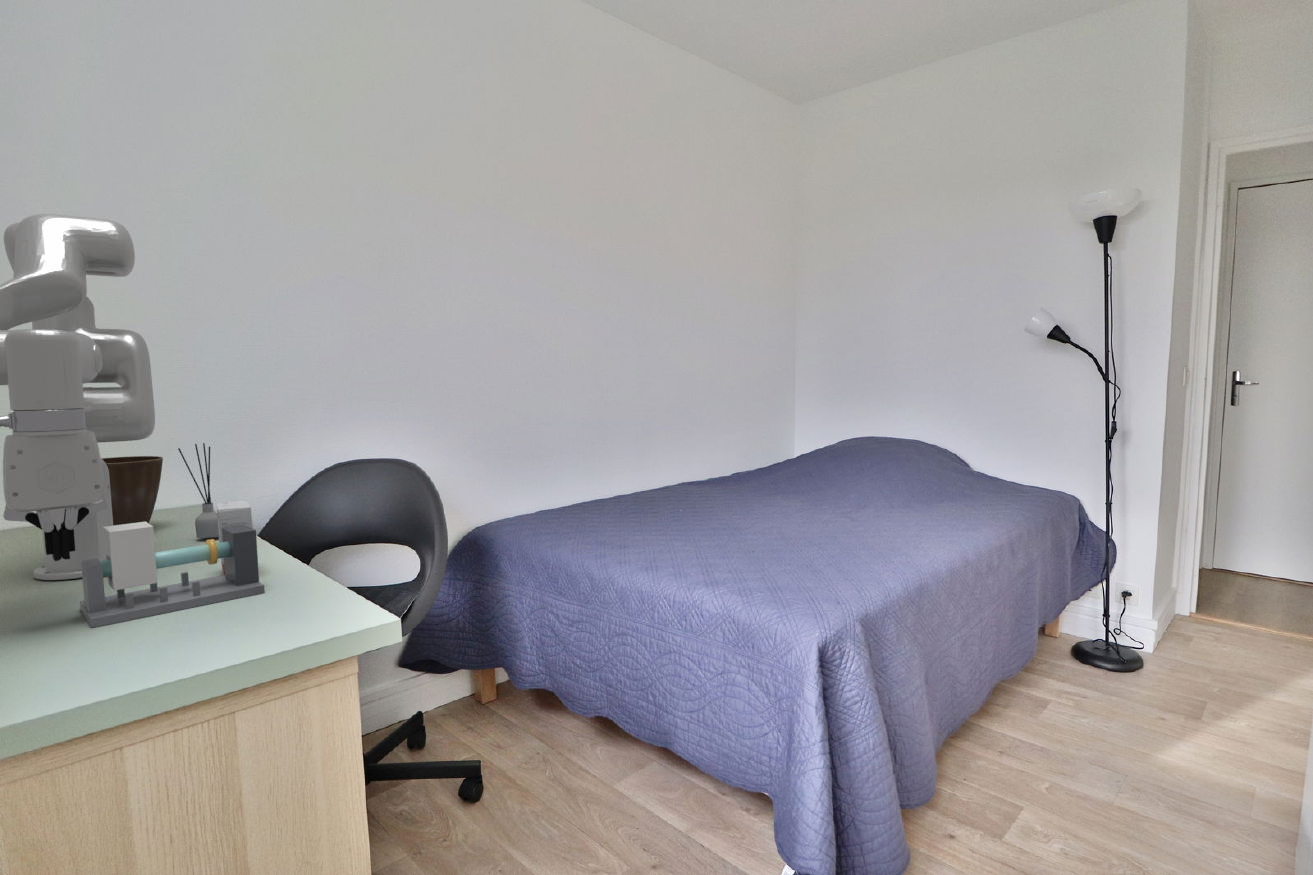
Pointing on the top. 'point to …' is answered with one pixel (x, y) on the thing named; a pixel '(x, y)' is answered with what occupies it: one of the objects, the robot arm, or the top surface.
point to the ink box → (233, 517)
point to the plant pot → (133, 487)
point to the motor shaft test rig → (187, 594)
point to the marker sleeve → (130, 555)
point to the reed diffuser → (205, 505)
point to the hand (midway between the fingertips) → (61, 558)
